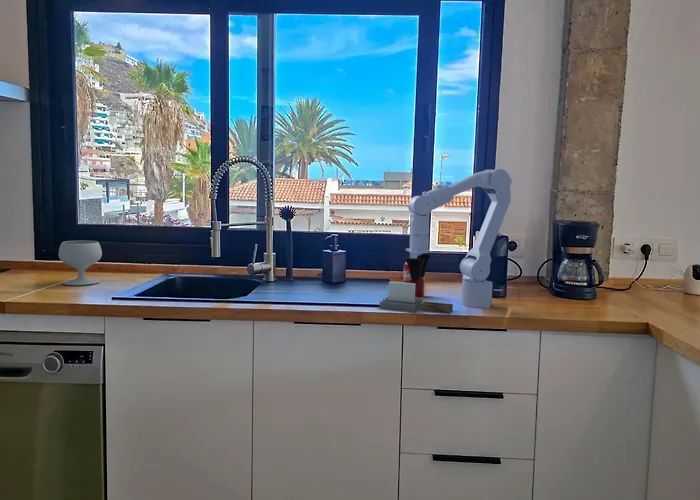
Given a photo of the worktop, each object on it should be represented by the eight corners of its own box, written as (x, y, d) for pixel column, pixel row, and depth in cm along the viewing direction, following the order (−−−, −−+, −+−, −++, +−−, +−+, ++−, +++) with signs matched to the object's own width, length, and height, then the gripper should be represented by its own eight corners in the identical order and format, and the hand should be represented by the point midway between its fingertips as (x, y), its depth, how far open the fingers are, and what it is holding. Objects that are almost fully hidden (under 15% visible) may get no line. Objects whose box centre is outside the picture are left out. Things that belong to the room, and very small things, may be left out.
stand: (453, 312, 165) (453, 303, 165) (449, 316, 160) (450, 307, 159) (423, 309, 168) (424, 300, 168) (419, 313, 163) (419, 304, 162)
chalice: (60, 280, 200) (59, 240, 198) (102, 279, 205) (101, 239, 204) (58, 287, 187) (56, 244, 185) (103, 285, 193) (101, 243, 191)
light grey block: (414, 307, 167) (415, 283, 166) (413, 308, 166) (414, 284, 165) (389, 305, 170) (390, 281, 169) (388, 305, 169) (389, 282, 168)
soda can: (407, 299, 182) (409, 264, 181) (399, 295, 189) (400, 261, 188) (427, 298, 184) (429, 263, 183) (418, 294, 191) (420, 260, 190)
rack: (424, 306, 172) (425, 298, 171) (415, 315, 160) (415, 306, 159) (388, 303, 176) (388, 294, 176) (376, 311, 164) (376, 302, 163)
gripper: (412, 232, 175) (411, 274, 176) (400, 236, 161) (399, 281, 163) (433, 233, 172) (432, 275, 174) (423, 237, 159) (422, 283, 160)
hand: (418, 278), depth 168 cm, fingers open, 7 cm apart
